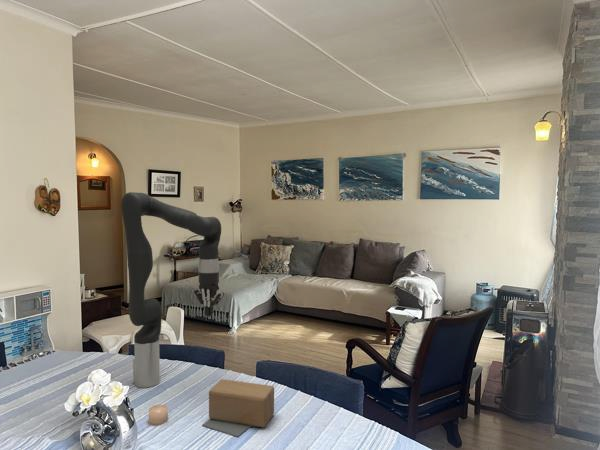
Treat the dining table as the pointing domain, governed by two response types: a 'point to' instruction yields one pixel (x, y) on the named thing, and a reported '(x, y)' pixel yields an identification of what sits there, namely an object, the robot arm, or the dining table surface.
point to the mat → (227, 427)
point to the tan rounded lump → (158, 414)
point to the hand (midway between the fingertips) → (209, 315)
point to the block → (241, 402)
